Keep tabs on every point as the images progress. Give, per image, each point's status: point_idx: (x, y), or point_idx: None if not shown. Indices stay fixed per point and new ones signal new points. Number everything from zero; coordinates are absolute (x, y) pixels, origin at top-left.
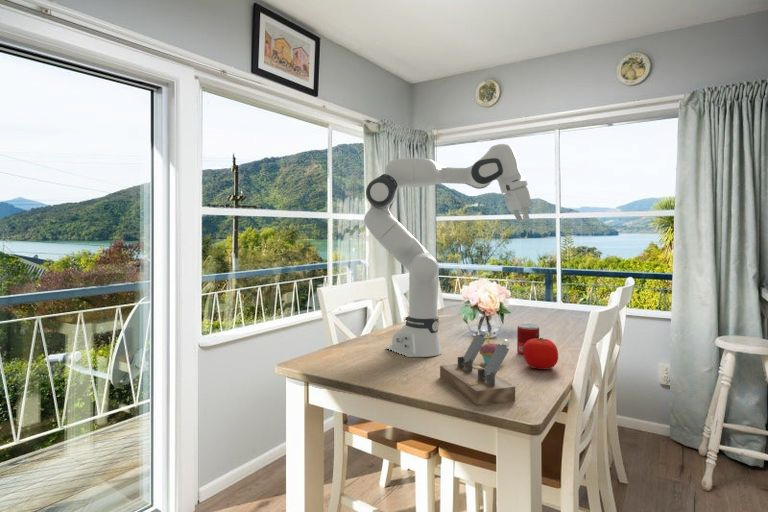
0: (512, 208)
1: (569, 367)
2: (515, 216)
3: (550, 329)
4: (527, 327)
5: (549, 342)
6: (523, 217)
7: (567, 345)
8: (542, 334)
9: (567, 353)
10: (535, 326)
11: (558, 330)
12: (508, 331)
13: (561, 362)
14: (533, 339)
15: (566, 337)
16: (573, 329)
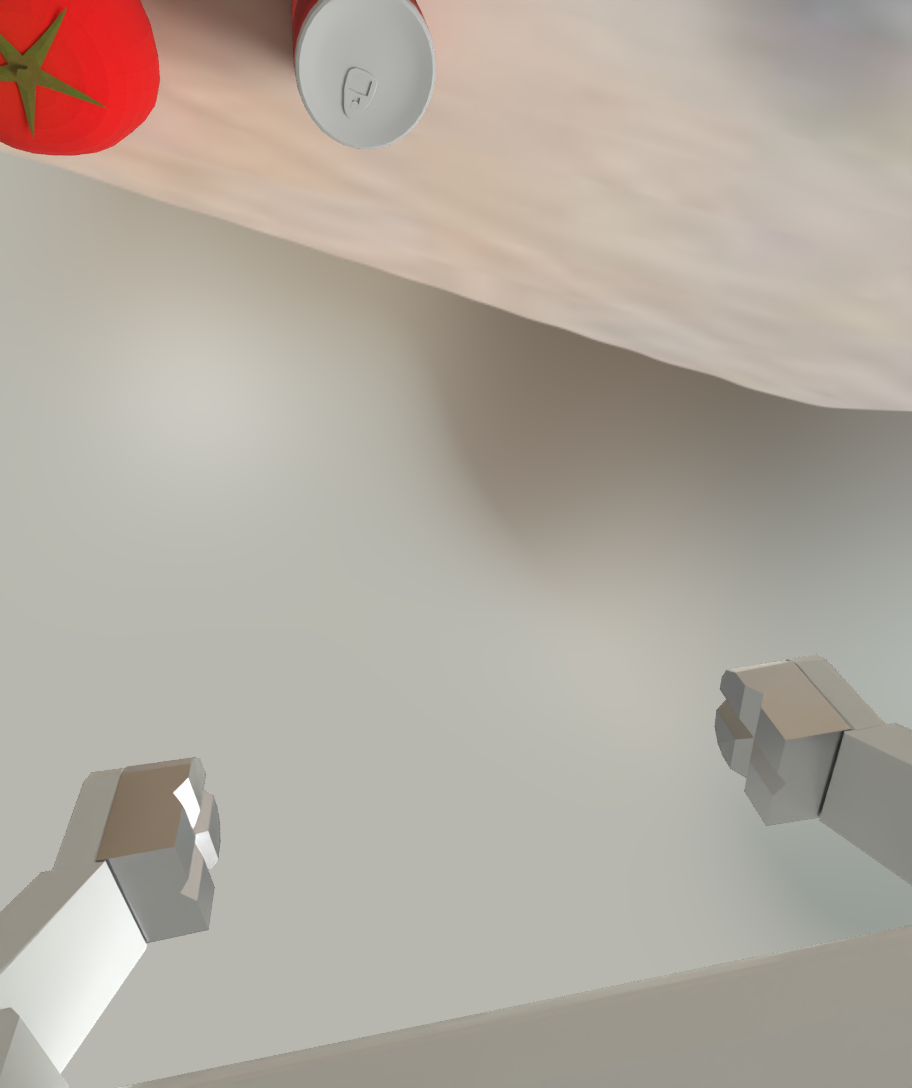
0: (876, 1024)
1: (131, 188)
2: (889, 743)
3: (849, 286)
4: (339, 57)
5: (3, 118)
6: (130, 823)
7: (535, 285)
8: (765, 219)
9: (389, 247)
10: (374, 126)
11: (817, 317)
12: (901, 16)
13: (213, 172)
14: (16, 16)
15: (679, 318)
16: (811, 383)
